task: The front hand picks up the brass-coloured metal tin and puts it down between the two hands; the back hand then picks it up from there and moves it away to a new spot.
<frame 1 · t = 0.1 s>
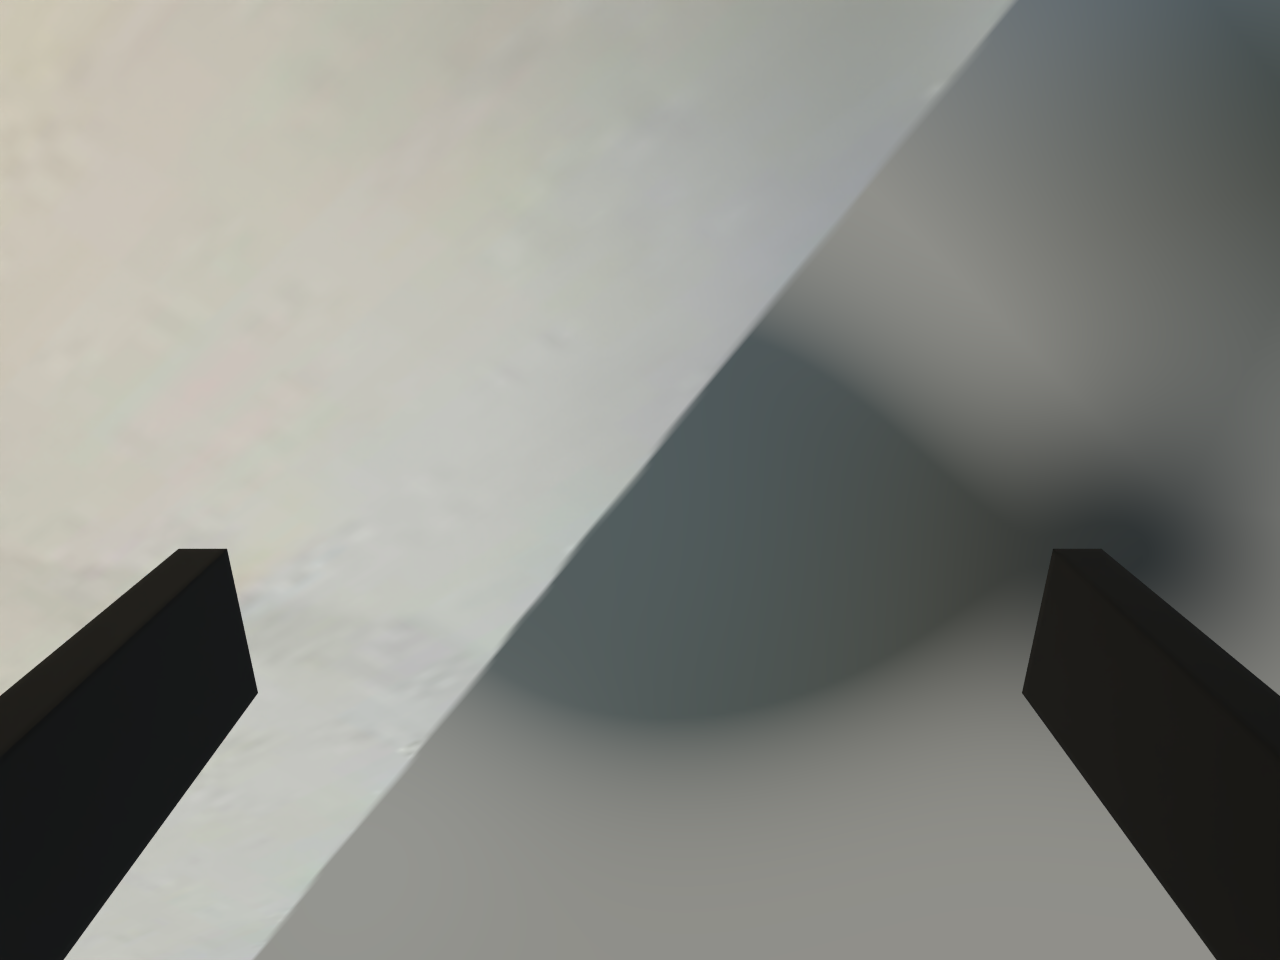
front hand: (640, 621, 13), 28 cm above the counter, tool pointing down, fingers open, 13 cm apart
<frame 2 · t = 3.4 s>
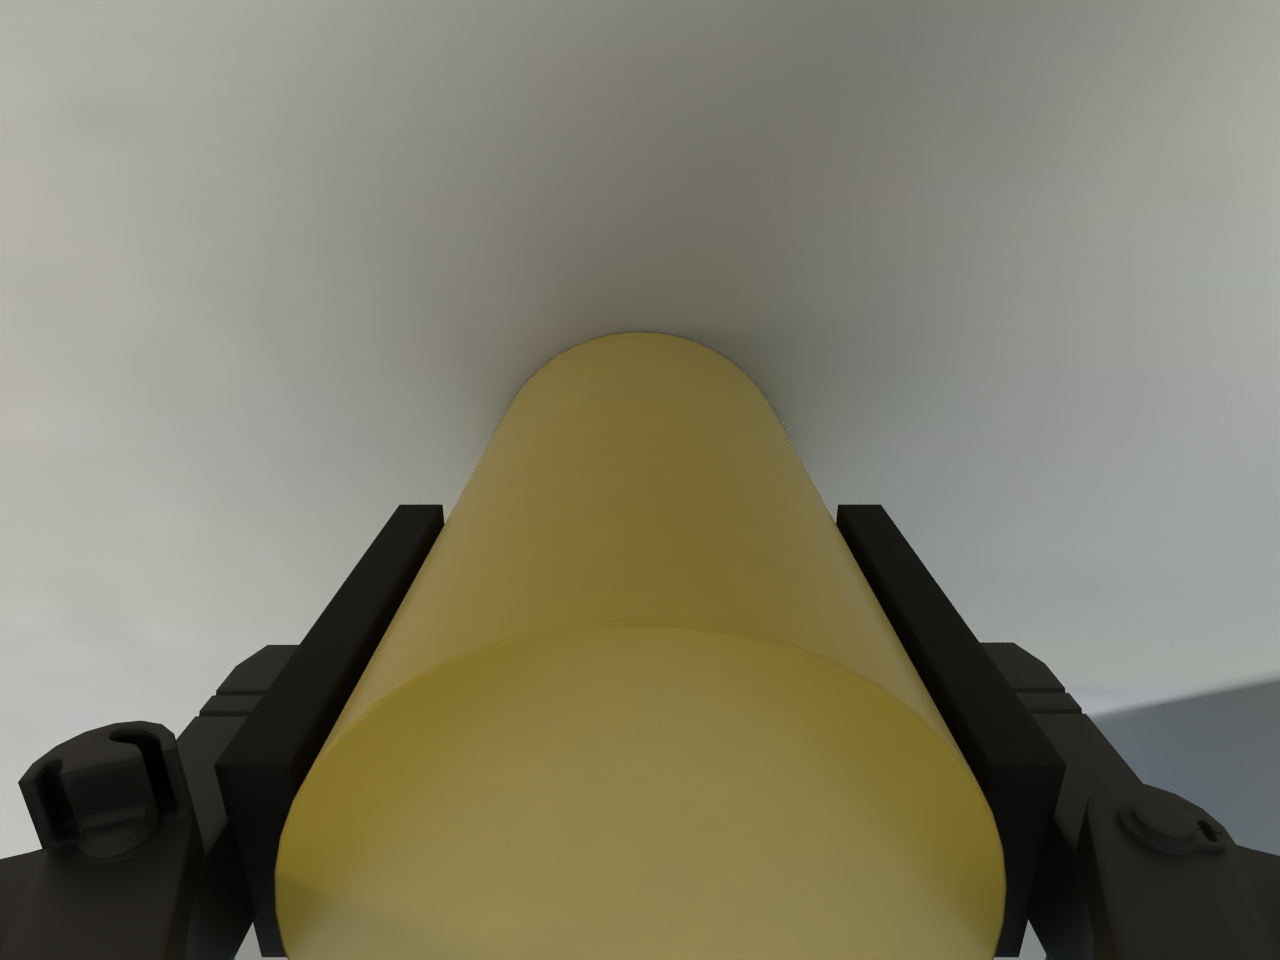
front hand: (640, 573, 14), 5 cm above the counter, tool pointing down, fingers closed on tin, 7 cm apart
tin: (640, 477, 19), on the counter, touching front hand
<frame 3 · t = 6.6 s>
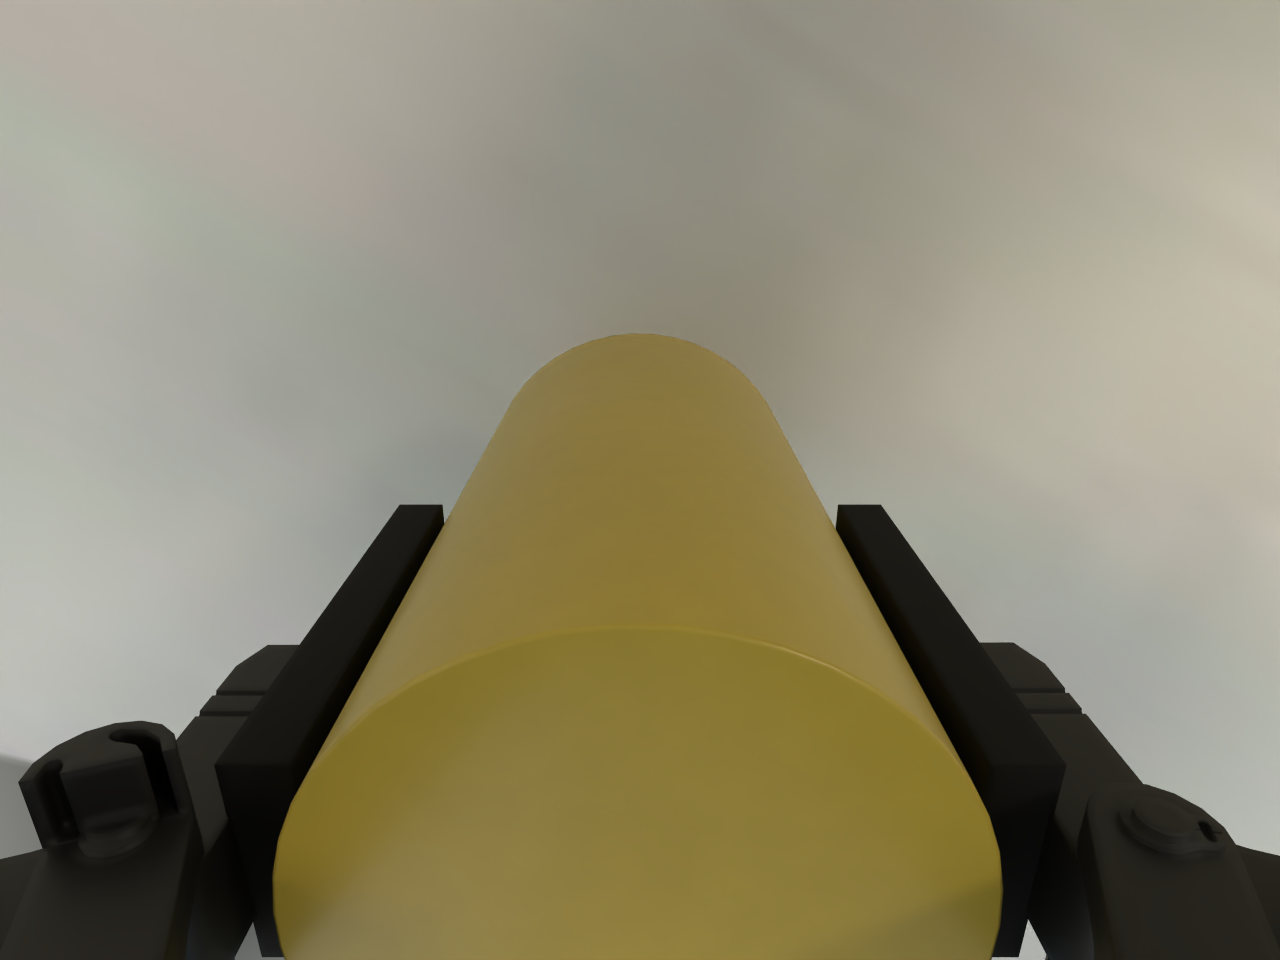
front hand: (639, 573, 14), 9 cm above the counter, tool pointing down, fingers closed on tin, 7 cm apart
tin: (639, 479, 19), point 4 cm above the counter, touching front hand
when the front hand's fingers open (6 cm above the counter, at t = 10.0 s): tin drops 1 cm, on the counter.
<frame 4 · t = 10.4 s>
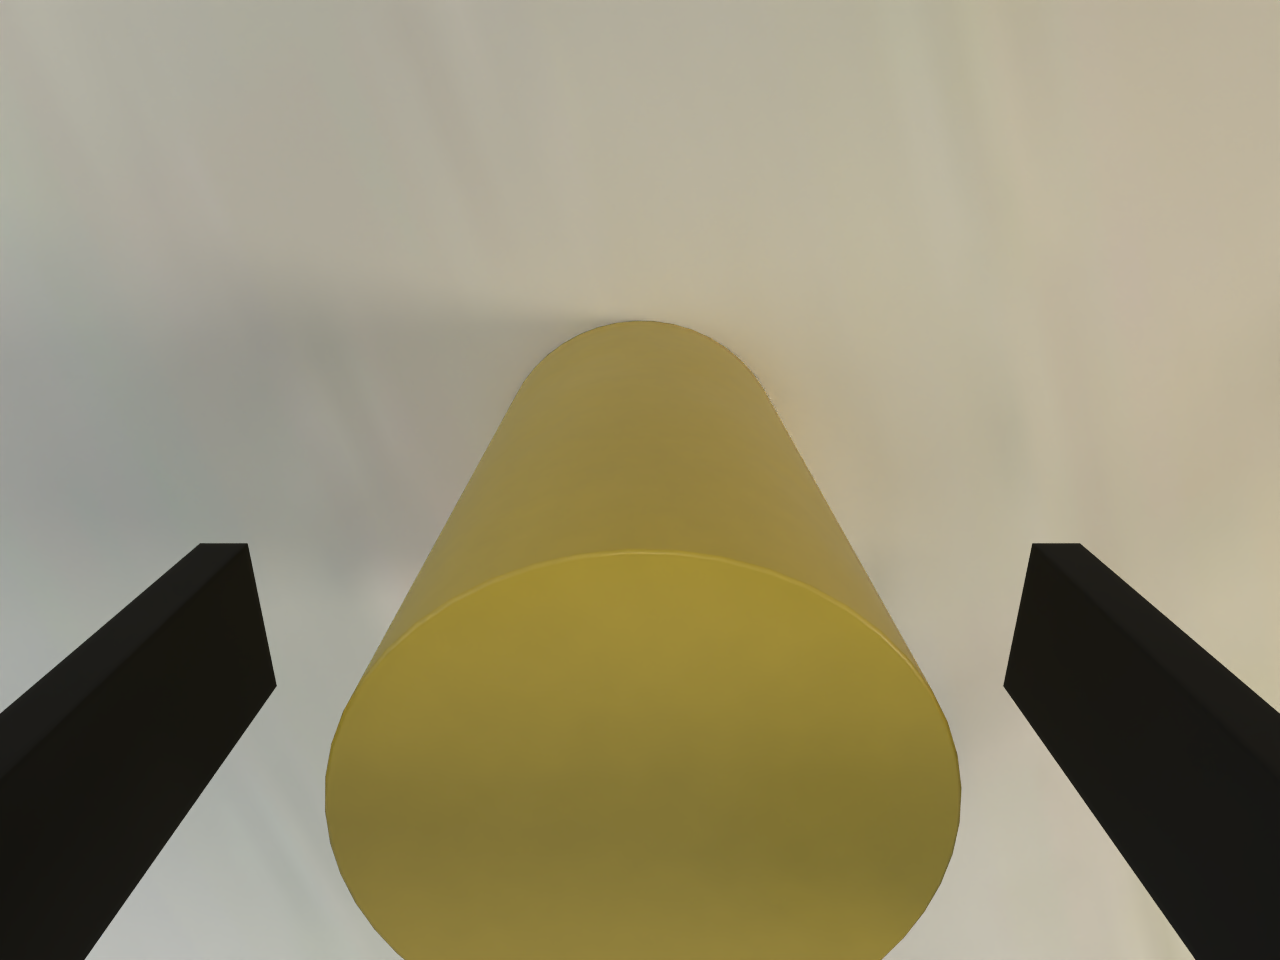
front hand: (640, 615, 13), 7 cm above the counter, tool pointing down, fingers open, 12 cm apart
tin: (641, 459, 20), on the counter
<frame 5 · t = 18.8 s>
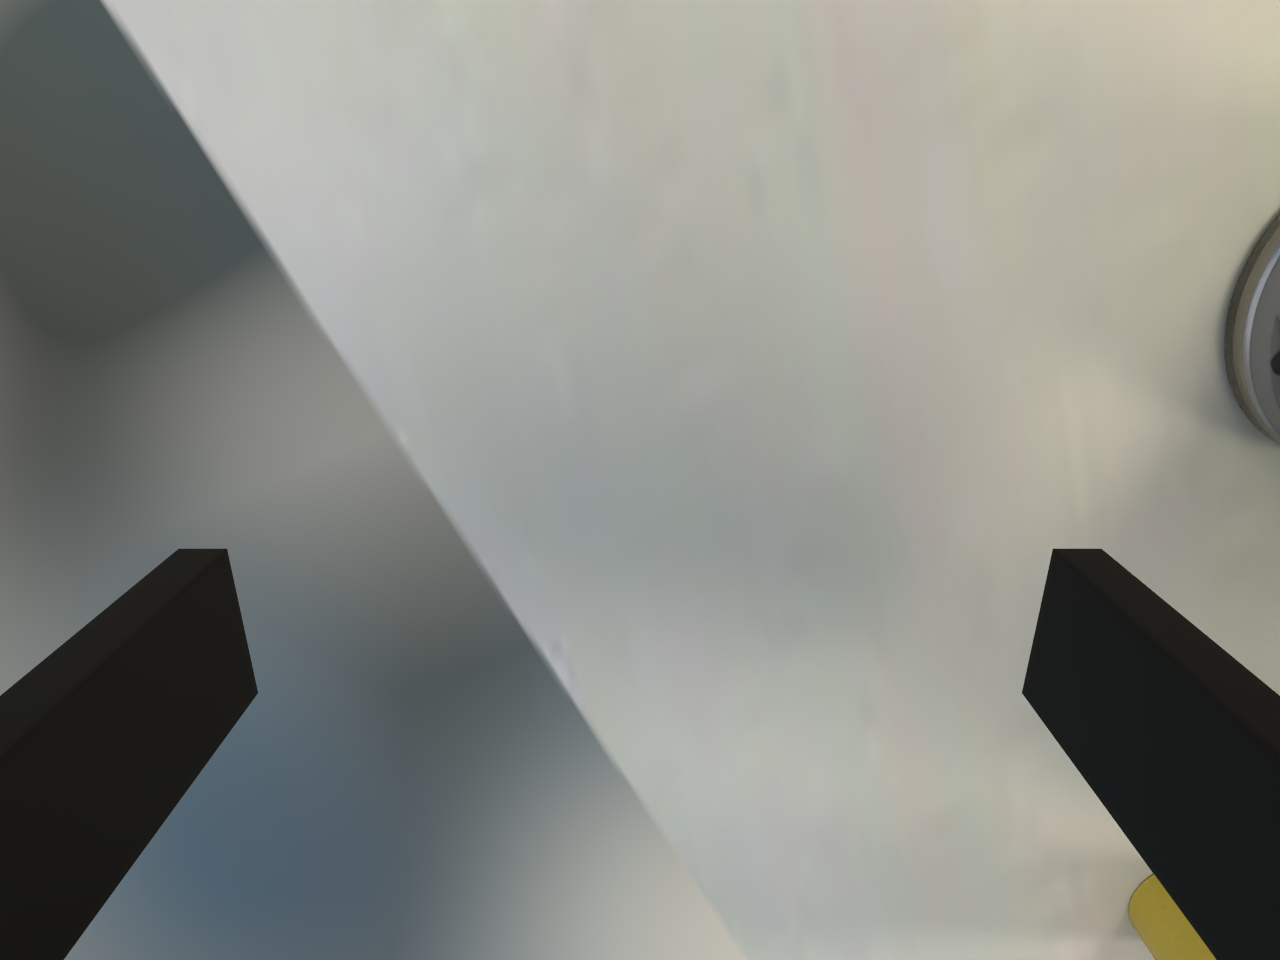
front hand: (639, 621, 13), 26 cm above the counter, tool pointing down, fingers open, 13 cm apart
tin: (1183, 901, 50), on the counter, touching back hand
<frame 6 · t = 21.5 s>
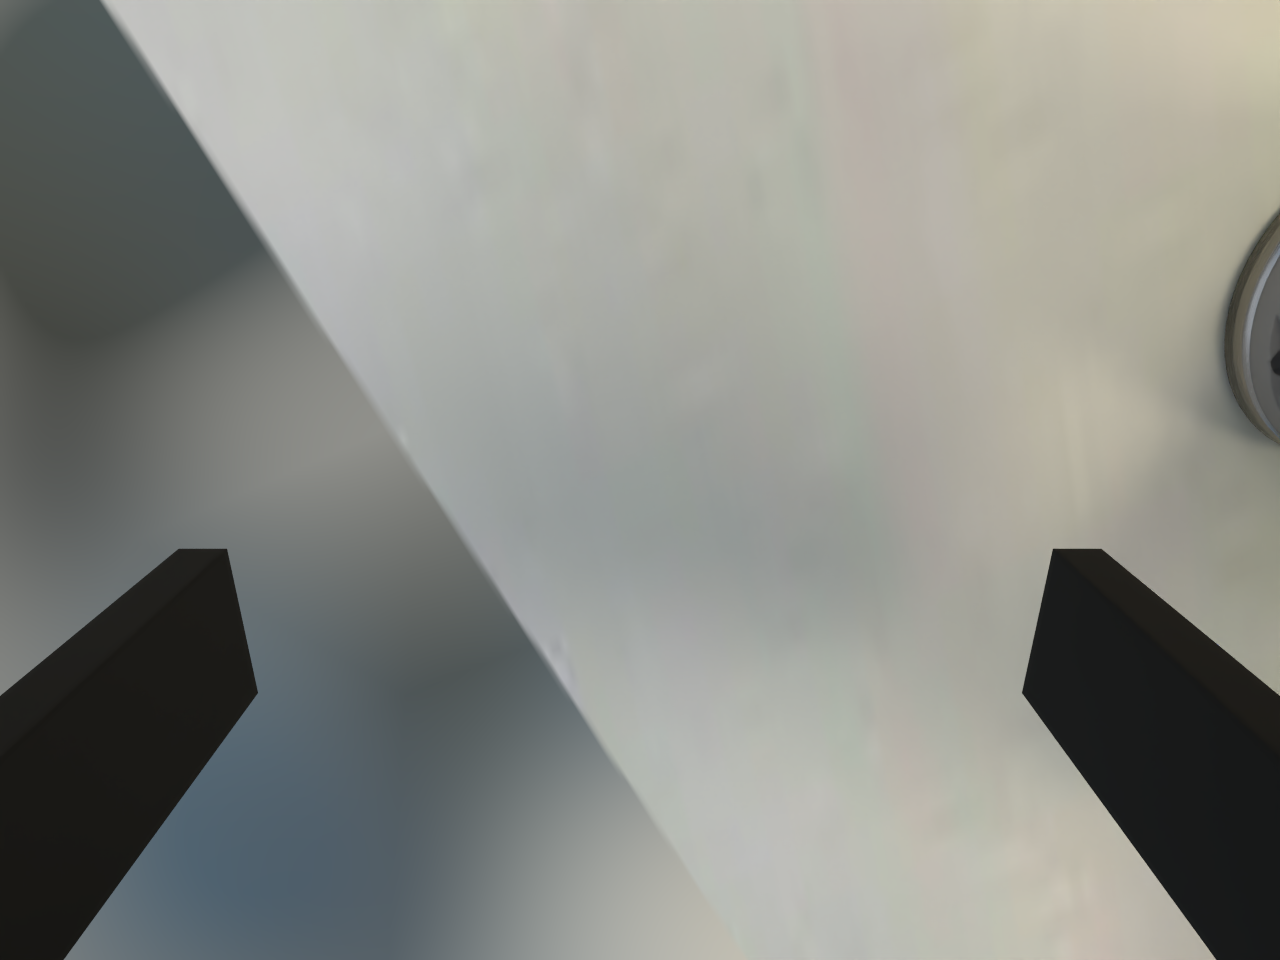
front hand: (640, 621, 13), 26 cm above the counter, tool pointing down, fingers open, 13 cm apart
when the back hand's fingers open (6 cm above the counter, at t = 24.5 s): tin drops 1 cm, on the counter.
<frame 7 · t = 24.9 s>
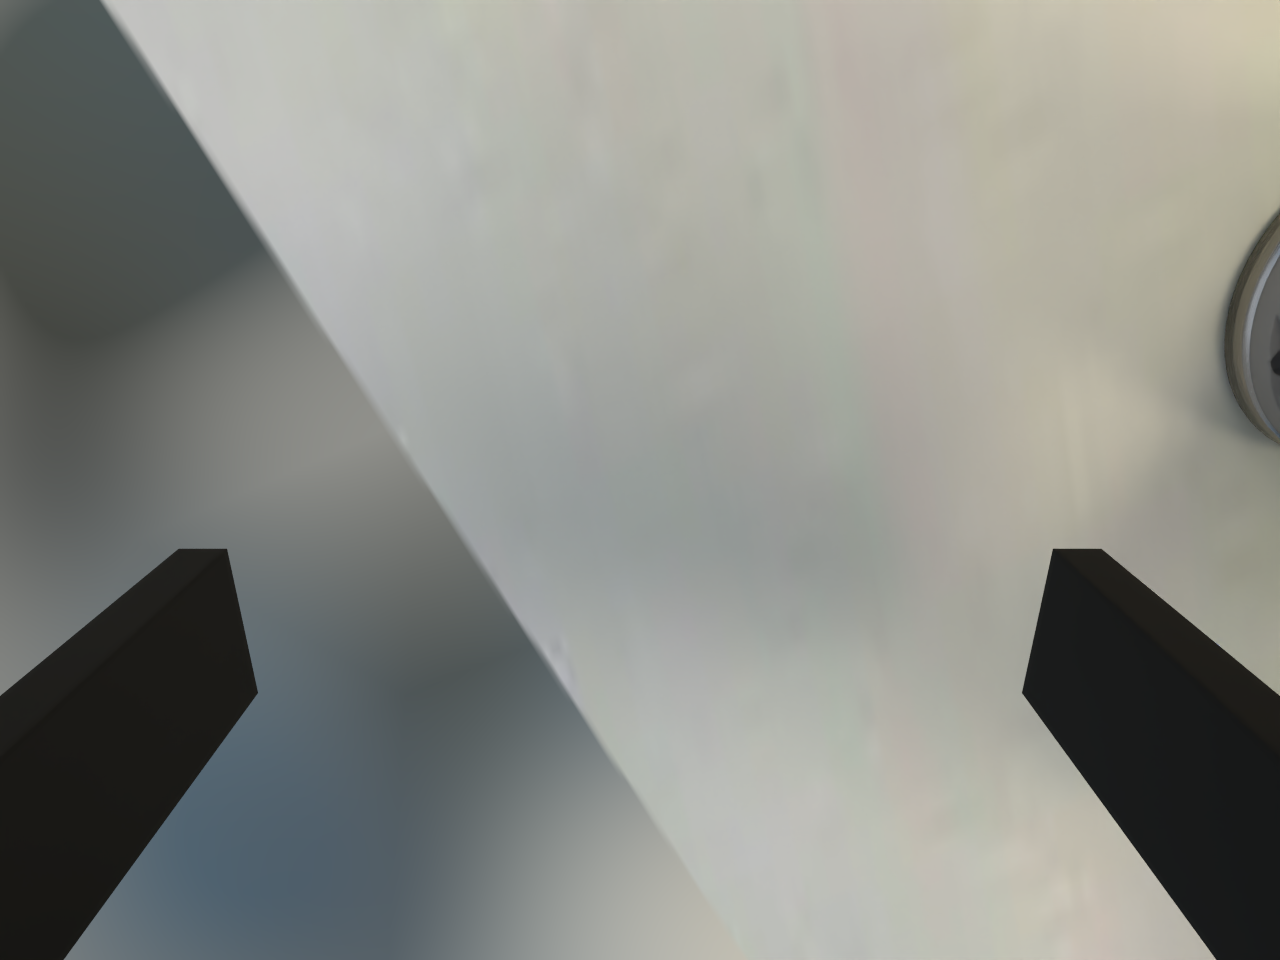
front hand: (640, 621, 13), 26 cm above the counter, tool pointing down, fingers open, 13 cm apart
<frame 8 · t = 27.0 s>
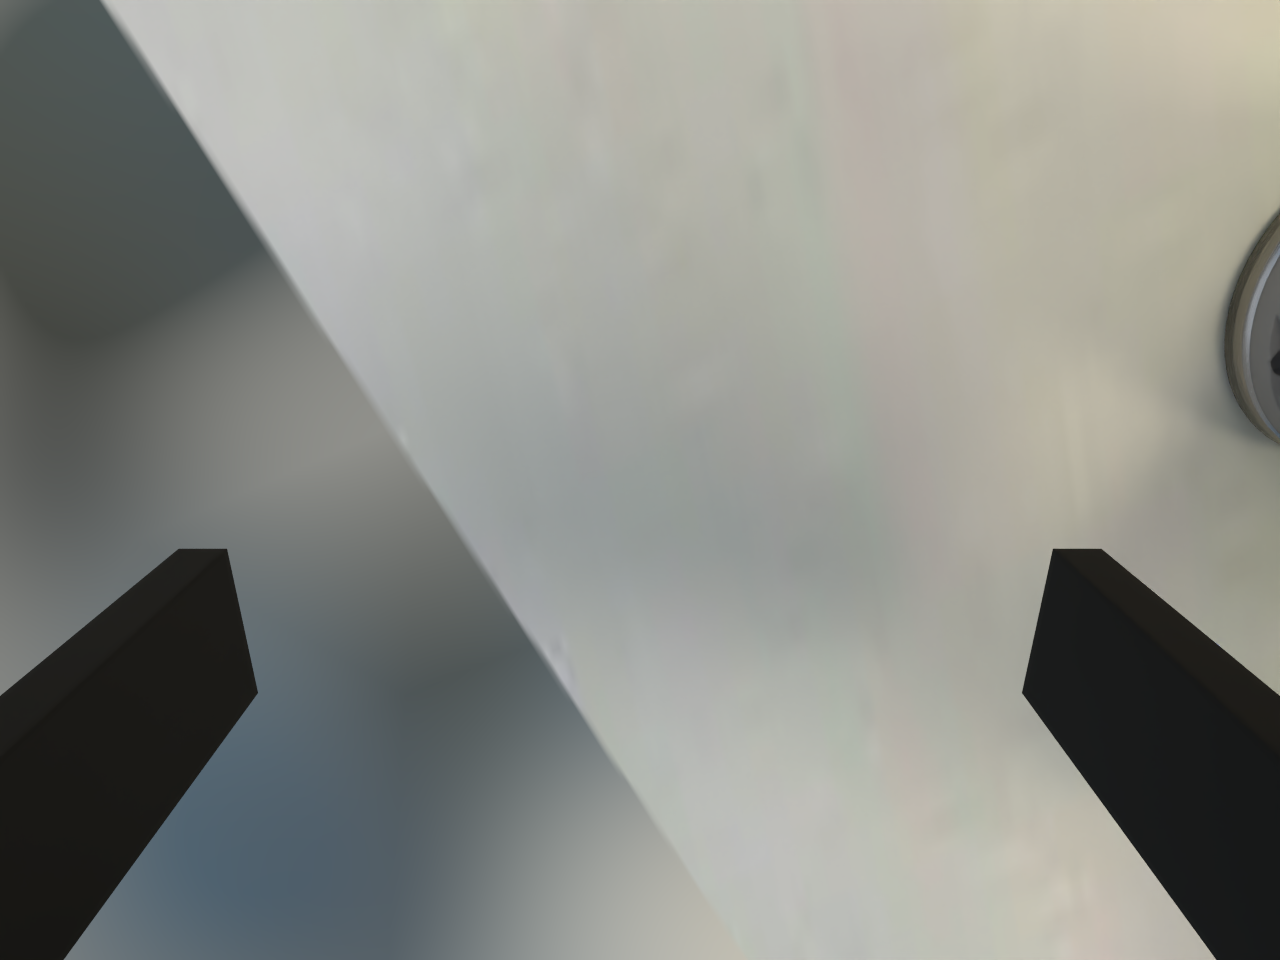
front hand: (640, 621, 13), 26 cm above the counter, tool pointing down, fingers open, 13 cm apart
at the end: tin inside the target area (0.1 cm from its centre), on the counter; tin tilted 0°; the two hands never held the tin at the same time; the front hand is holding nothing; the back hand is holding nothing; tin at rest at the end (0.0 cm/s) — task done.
